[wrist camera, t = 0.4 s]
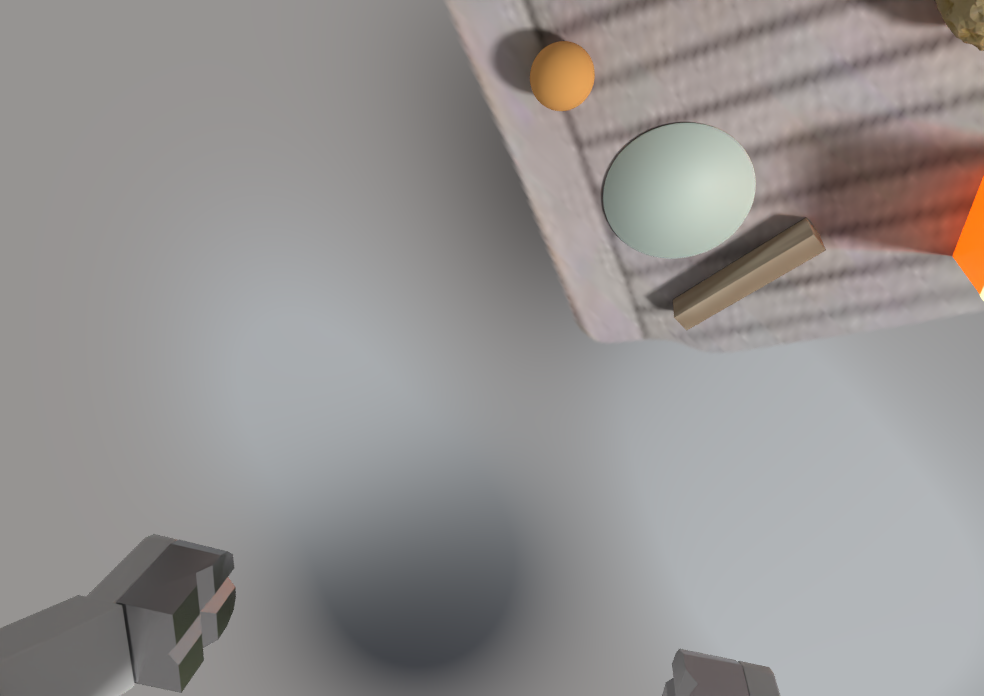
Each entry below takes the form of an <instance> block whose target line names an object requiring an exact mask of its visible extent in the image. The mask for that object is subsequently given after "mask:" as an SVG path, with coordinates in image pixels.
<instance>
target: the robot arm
mask: <svg viewBox="0 0 984 696" xmlns="http://www.w3.org/2000/svg"><path fill="white" fill-rule="evenodd" d="M233 569H234V561H233V554H231V553H230V552H228V551H224V550H220V549H215V548H212V547H207V546H203V545H199V544H195V543H191V542H187V541H183V540H177V539H173V538H168V537H165V536H160V535H156V534H153V535H151V536H148V537H146V538H145V539H143V540H142V541H141V542H140V543H139V544H138V546H136V547H135V548H134V549H133V551H131V552H130V553H129V554H128V555H127V557H126V558H124V560H122V561H121V562H120V563H119V564H118V565H117V566H116V567H115V568H114V569H113V570H112V571H111V572H110V573H109V574H108V575H107V576H106V577H105V578H104V579H103V580H102V581H101V582H100V583H99V584H98V585H97V586H96V587H95V588H94V589H93V590H92V591H91V592H90V593H89V594H88V595H87V596H86V597H85V596H80V595H77V596H75V597H73V598H70V599H68V600H66V601H63V602H61V603H59V604H56V605H54V606H52V607H49V608H47V609H44V610H42V611H40V612H38V613H35V614H33V615H30V616H28V617H26V618H23V619H21V620H19V621H16V622H14V623H11V624H9V625H7V626H4V627H3V628H0V696H120V695H122V694H123V693H125V692H126V691H128V690H129V689H131V688H132V687H134V685H135V684H134V683H137V684H142V685H147V686H151V687H156V688H161V689H166V690H171V691H175V692H180V693H182V691H183V690H184V688H185V687H186V685H187V684H188V682H189V681H190V680H191V678H192V677H193V675H194V674H195V672H196V671H197V670H198V668H199V667H200V665H201V664H202V662H203V661H204V657H203V648H204V647H206V646H207V645H209V644H211V643H213V642H215V641H216V640H218V639H219V637H220V636H221V634H222V633H223V631H224V630H225V628H226V627H227V625H228V622H229V620H230V617H231V615H232V613H233V610H234V605H235V599H236V591H235V586H234V584H233V583H232V582H231V580H230V579H229V578H228V576H229V574H230V573H231V572H232V570H233ZM672 668H673V677H674V678H672V679H671V680H669V681H668V682H666V684H665V688H664V691H663V694H662V696H780V693H779V689H778V686H777V683H776V679H775V676H774V673H773V672H772V671H771V669H770V668H769V667H765V666H761V665H755V664H751V663H746V662H742V661H738V662H737V661H736V660H732V659H727V658H723V657H718V656H713V655H708V654H703V653H698V652H693V651H688V650H683V649H679V650H678V651H677V653H676V655H675V657H674V660H673V663H672Z"/></svg>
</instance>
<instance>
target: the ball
mask: <svg viewBox="0 0 984 696" xmlns="http://www.w3.org/2000/svg"><path fill="white" fill-rule="evenodd" d="M594 76H595V74H594V66H593V62H592V60H591V58H590V56H589V55H588V53H587V52H586V51H585V50H584V49H583V48H582V47H581V46H579V45H577V44H575V43H572V42H568V41H560V42H555V43H552V44H550V45H548V46H546V47H545V48H544V49H542V50H541V51H540V52H539V54H538V55H537V56H536V58H535V60H534V61H533V64H532V67H531V71H530V84H531V88H532V91H533V93H534V95H535V97H536V98H537V100H538V101H539V102H540V103H541V104H542V105H544V106H545V107H547V108H549V109H551V110H555V111H567V110H570V109H573V108H575V107H577V106H579V105H580V104H581V103H582V102H583V101H584V100H585V99H586V98H587V97H588V95H589V94H590V92H591V90H592V87H593V84H594Z"/></svg>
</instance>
